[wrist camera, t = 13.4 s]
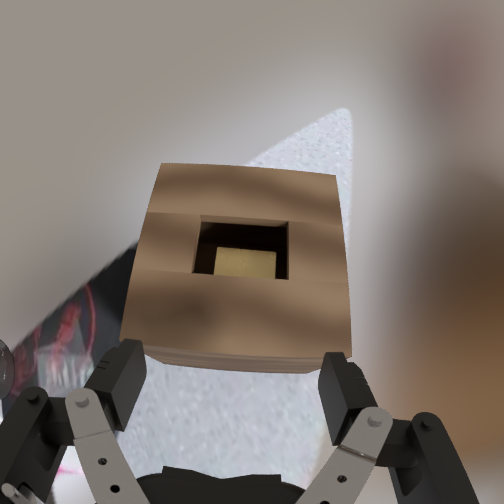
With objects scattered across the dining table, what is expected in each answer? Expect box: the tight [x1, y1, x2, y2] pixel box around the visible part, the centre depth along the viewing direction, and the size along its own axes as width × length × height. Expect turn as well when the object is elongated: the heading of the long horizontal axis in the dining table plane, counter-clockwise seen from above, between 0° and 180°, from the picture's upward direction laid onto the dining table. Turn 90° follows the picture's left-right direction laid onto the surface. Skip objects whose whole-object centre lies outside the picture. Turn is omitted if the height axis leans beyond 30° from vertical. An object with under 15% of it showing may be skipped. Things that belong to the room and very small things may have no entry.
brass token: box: [214, 247, 276, 279], centre depth 30 cm, size 3×5×10 cm, turn 86°
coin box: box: [119, 163, 352, 373], centre depth 29 cm, size 16×16×14 cm
